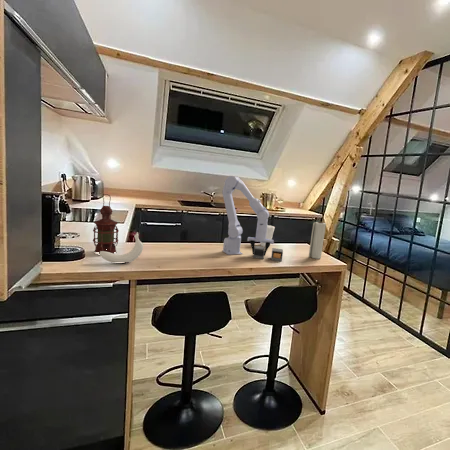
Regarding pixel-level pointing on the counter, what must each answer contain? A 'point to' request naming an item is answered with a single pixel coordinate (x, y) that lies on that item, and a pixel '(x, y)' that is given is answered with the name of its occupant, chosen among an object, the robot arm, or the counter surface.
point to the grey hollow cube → (259, 252)
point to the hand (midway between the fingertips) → (258, 254)
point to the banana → (125, 257)
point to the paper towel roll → (317, 240)
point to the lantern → (106, 231)
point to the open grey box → (277, 251)
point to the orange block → (277, 255)
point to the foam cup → (268, 234)
